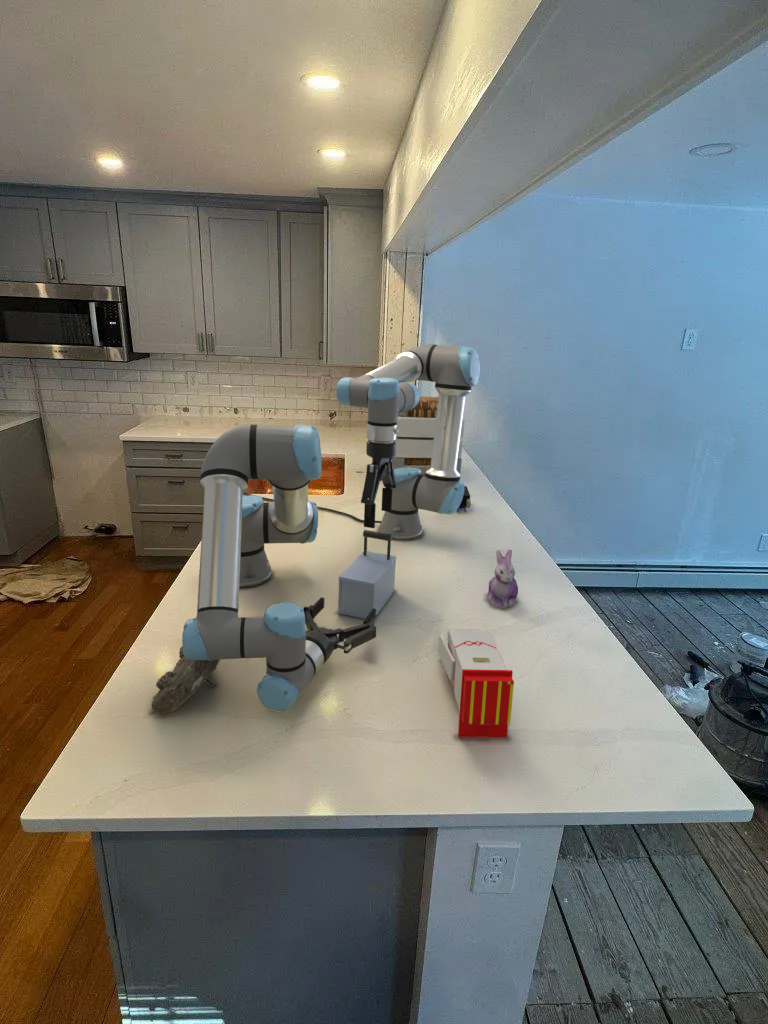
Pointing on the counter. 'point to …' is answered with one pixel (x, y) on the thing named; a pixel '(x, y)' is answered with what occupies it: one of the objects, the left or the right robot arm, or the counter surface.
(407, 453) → the light grey slatted box
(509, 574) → the figurine
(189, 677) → the fossil
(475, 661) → the toy
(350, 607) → the chest
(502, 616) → the counter surface
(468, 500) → the figurine character
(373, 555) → the door
